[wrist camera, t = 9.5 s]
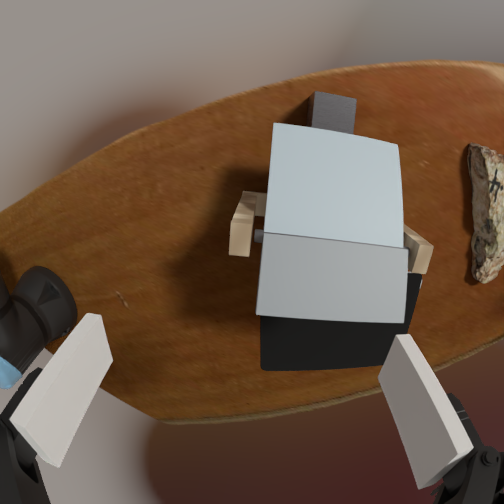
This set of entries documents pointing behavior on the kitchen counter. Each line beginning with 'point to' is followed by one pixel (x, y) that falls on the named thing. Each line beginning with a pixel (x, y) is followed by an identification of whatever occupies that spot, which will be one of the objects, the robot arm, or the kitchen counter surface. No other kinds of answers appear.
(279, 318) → the tablet
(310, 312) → the trapdoor
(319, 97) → the block
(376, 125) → the kitchen counter surface
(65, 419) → the robot arm
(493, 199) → the stone
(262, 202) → the frame
